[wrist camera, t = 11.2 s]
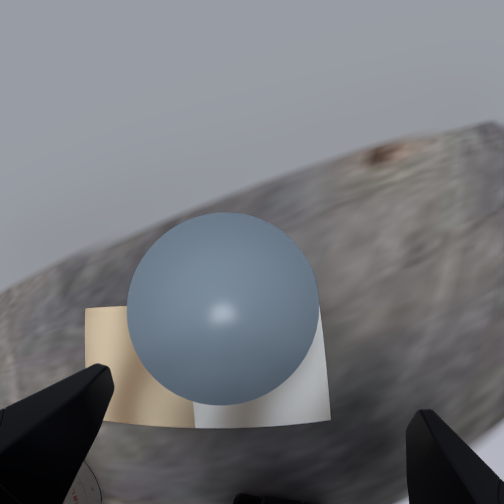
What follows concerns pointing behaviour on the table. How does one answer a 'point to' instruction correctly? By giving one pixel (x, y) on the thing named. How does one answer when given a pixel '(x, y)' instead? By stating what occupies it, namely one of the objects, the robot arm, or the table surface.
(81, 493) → the thermos bottle
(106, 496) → the table surface
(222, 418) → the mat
